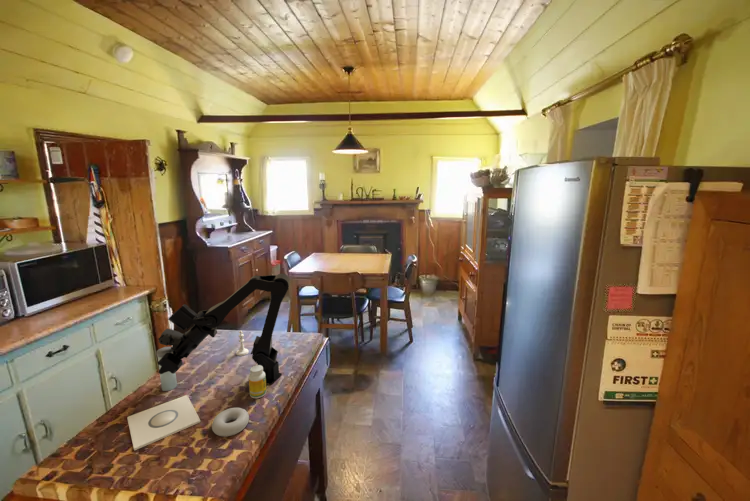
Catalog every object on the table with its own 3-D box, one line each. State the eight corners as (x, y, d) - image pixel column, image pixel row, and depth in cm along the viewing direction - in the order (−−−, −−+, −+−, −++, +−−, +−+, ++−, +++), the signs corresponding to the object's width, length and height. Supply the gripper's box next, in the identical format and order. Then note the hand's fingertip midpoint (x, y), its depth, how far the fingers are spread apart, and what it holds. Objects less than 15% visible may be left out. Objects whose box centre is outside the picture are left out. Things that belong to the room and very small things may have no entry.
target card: (187, 396, 107) (187, 394, 107) (200, 422, 96) (200, 420, 96) (127, 418, 97) (127, 416, 97) (134, 450, 85) (133, 448, 85)
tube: (180, 384, 114) (176, 347, 111) (168, 392, 109) (163, 354, 107) (170, 381, 115) (165, 345, 113) (157, 389, 111) (152, 352, 108)
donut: (253, 414, 100) (219, 415, 99) (253, 404, 99) (219, 405, 98) (243, 438, 90) (206, 440, 89) (242, 428, 90) (205, 429, 89)
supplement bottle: (249, 390, 111) (248, 365, 109) (266, 387, 113) (264, 362, 111) (249, 400, 106) (247, 373, 104) (266, 397, 108) (265, 370, 106)
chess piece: (244, 356, 133) (242, 333, 131) (233, 355, 134) (231, 332, 132) (251, 350, 138) (249, 328, 136) (240, 349, 139) (239, 327, 137)
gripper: (185, 312, 118) (155, 342, 118) (161, 334, 99) (126, 370, 100) (210, 330, 120) (181, 360, 121) (191, 356, 102) (157, 390, 103)
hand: (162, 369), depth 111 cm, fingers open, 5 cm apart
